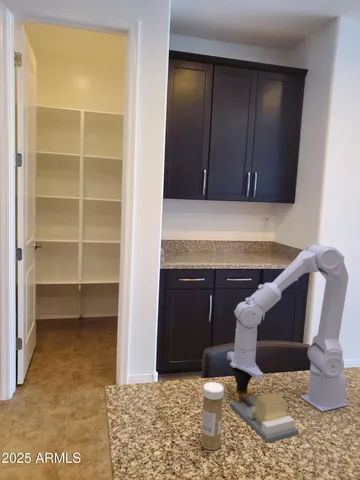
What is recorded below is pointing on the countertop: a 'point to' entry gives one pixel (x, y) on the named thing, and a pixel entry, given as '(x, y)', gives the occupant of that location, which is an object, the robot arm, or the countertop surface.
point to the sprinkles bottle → (212, 415)
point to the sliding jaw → (247, 400)
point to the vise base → (256, 426)
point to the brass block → (269, 407)
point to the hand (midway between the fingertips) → (242, 394)
